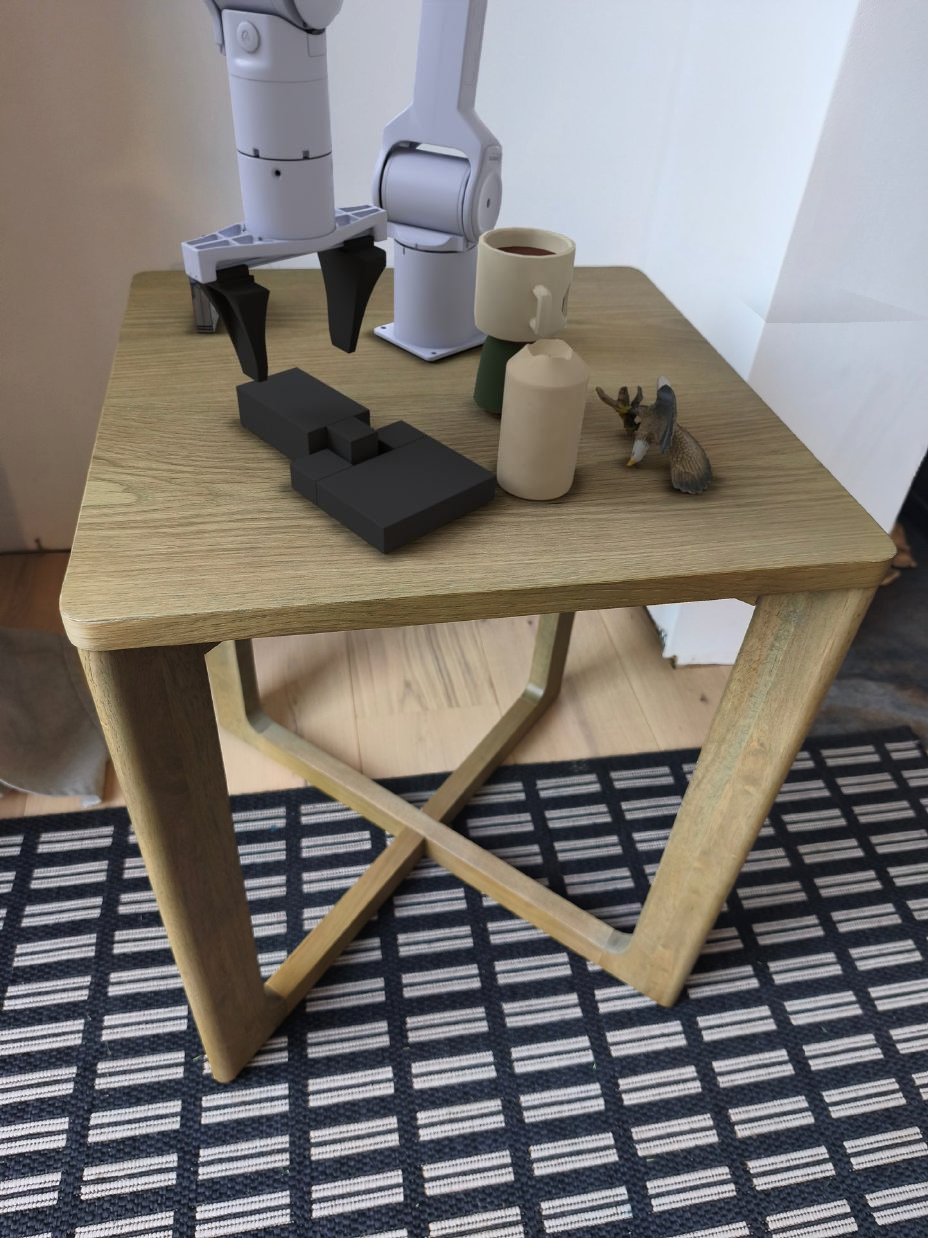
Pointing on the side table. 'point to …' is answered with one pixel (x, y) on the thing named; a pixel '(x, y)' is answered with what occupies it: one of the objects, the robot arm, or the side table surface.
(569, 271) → the character mug
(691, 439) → the eagle figurine
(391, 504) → the base pad
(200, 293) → the mini dv tape
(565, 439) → the beige bottle vase
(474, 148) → the robot arm
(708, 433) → the side table surface
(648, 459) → the side table surface
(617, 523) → the side table surface
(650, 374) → the side table surface
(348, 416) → the black t-shaped block
